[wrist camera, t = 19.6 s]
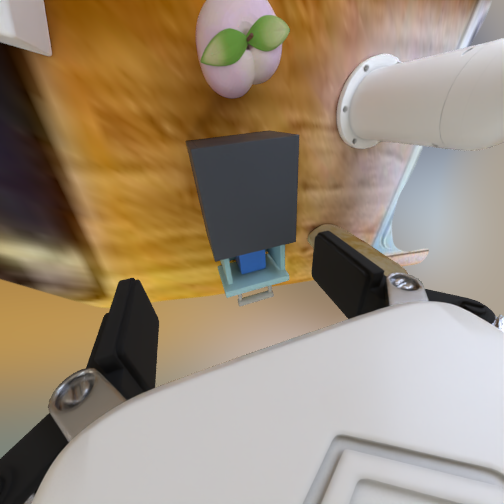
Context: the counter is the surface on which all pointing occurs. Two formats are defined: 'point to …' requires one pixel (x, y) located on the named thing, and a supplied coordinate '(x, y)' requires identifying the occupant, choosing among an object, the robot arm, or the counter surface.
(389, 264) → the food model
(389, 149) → the counter surface
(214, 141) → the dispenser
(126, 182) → the counter surface
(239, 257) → the blue cube
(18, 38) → the medicine bottle
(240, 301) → the teal drawer
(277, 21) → the decorative fruit
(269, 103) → the counter surface
